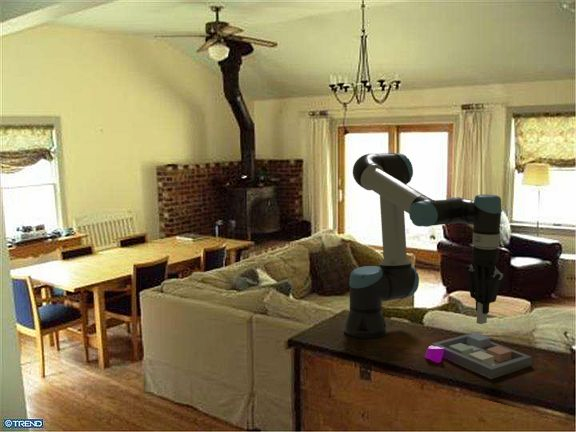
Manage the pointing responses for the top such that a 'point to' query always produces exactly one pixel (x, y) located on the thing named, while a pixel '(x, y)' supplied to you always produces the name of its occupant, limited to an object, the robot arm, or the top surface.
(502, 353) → the key terracotta
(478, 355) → the key cream
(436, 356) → the crystal
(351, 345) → the top surface
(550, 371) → the top surface
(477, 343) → the key slate
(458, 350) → the key sage
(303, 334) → the top surface
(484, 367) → the grey tray
